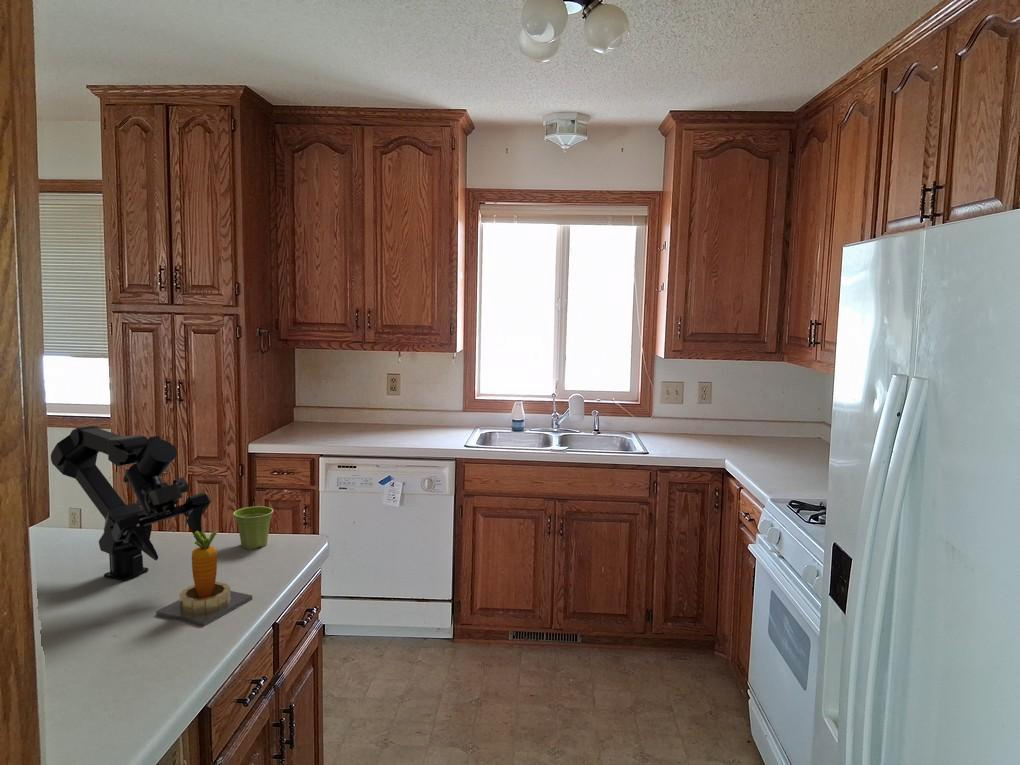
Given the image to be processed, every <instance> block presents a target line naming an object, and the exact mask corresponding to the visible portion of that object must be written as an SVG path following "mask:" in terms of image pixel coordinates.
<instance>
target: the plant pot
mask: <svg viewBox="0 0 1020 765" xmlns="http://www.w3.org/2000/svg"><path fill="white" fill-rule="evenodd" d="M273 514H274V508H272V507H268V506H248V507H247V506H246V507H243V508H239V509H236V510H235V511H233V517H234V518H235V521H236V523H237V528H238V533H239V538H240V540H239V541H240V544H241V547H243V548H245V549H258V548H259V547H265V546H267V544H268V538H269V532H270V525H271V524H270V522H271V518H272V515H273Z"/></svg>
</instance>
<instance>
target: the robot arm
mask: <svg viewBox="0 0 1020 765" xmlns="http://www.w3.org/2000/svg"><path fill="white" fill-rule="evenodd" d="M99 452H100V453H103V454H105V455H107V456H108V457H107V458H108V459H107V460H108V461H109V462H111V463H112V464H114V465H115V466H117V467H122V466H123V467H124V466H128V465H131V466H130V467H128V468H127V469H125V474H124V476H123V480H122V481H123V483H129V484H130V487H131V489H132V491H133V493H134V495H135V497H136V501H135V502H133V503H130V504H127V503H126V502H124V500H123V499H122V498H121V496H120V495H119V493H118V492H117V491H116V490H115V488H114V487H113V486H112V485H111V483H110V482H109V480H108V479H107V478H106V476H105V475H104V474H103V472H102V471H101V470H100V469H99V468H98V466H97V459H98V454H99ZM177 455H178V450H177V447H176V446H175V445H174V444H172V443H171V442H170V441H168V440H165V439H161V436H160V435H153V436H150V437H149V438H148V437H146V435H126V436H125V435H120V434H117V433H114V432H111V431H109V430H108V431H107V430H104V429H102V428H100V427H99V426H97V425H96V426H95V425H89V426H79V427H76V428H74V429H72V430H71V432H70V433H69V435H67V436H66V437H65V438H63V439H61V440H59V441H58V442H57V443H56V444H55V446H54V448H53V450H52V451H51V454H50V460H51V463H52V465H53V466H54V467H55V469H56V470H58V471H59V472H60V473H61V474H62V475H63V476H66V477H69V478H73V479H75V480H76V481H77V483H78V484H79V485H80V487H81V488H82V490H83V491H84V492H85V494H86V495H87V497H89V499H90V501H91V502H92V503H93V504H94V506H95V508H96V509H97V510H98V511H99V513H100V514H101V515H102V517H103V518H104V520H105V522H104V525H103V526H104V528H103V534H102V535H101V537H100V538H99V540H98V545H99V550H100V551H101V552H103V553H106V554H108V555H109V556H108V557H109V571H108V572H106V573H103V576H104V577H105V578H110V579H116V580H120V581H127V580H130V579H132V578H134V577H136V576H138V575H139V576H140V575H141V574H144V573H146V572H149V567H144V558H143V556H144V555H143V553H145V554H146V555H147V556H148V557H149V558H151V559H152V560H154V561H158V559H159V556H158V553H157V551H156V549H155V546H154V544H152V541H151V535H152V528H153V525H154V524H156V523H159V522H162V521H165V520H170V519H172V518H174V517H178V516H180V515H181V516H182V515H184V517H186V518H187V519H186V522H185V523H187V526H188V528H189V529H190V531H191V533H192V534H193V537H194V539H195V542H196V541H198V540H197V538H196V537H195V535H194V533H195V532H196V531H199V533H200V535H201V532H203V531H202V530H203V528H202V516H203V514H204V513H205V512H206V510H207V509H208V508H209V506H210V505H211V503H212V500H211V498H210V497H209V494H206V493H204V492H201V493H197V494H194V495H190V496H188V497H187V498H186V499H185V502H184V503H183V504H180V505H177V504H178V502H179V499H182V498H183V497H184V496H183V494H185V493H187V492H189V491H190V486H189V484H188V482H187V480H186V478H185V477H184V476H183V477H179V478H175V479H174V480H172V483H171V484H168V483H167V482H163V479H162V478H161V476H162V475H164V473H165V472H166V471H167V469H168V468H169V467H170V466H171V464H172V463H173V461H174V460H175V459H176V457H177ZM175 505H177V506H175ZM201 537H202V535H201ZM202 538H203V537H202ZM198 542H199V541H198Z"/></svg>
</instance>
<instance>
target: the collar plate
mask: <svg viewBox="0 0 1020 765" xmlns="http://www.w3.org/2000/svg"><path fill="white" fill-rule="evenodd" d="M252 600H253V595H252V594H248V593H244V592H238V591H233V590H231V587H230V586H229V584H227V583H225V582H222V581H220V582H219V581H215V585H214V589H213V592H212V594H211V596H210V597H208V598H200V597H199V595H198V593H197V590H196V587H195V584H193V585H190V586H188V587H186V588H184V589H183V590H181V592H180V593H179V599H177V600H176V601H173V602H171V603H170V604H168V605H166V606H164V607H162V608H160V609H158V610H156V612H155V613H156V616H160V617H164V618H167V619H168V618H169V619H173V620H176V621H180V622H181V621H182V622H184V623H185V622H186V623H188V624H193V625H198V626H203V627H205V626H207V625H208V624H210V623H212V622H214V621H216V620H217V619H219V618H221V617H223V616H225V615H226V614H228V613H230V612H232V611H234V610H235V609H237V608H239V607H241V606H243V605H245V604H246V603H247V602H250V601H252Z"/></svg>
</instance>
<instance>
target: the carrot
mask: <svg viewBox="0 0 1020 765" xmlns="http://www.w3.org/2000/svg"><path fill="white" fill-rule="evenodd" d="M194 535H195V537H196V538H197V540H198V541H199V542H198V541H196V540H195V542H194V544H195V545H196V546H197V547H195V548H194V549H193V550H192V551H191V566H192V578H193V584H194V585H195V587H196V590H197V593H198V595H199V597H200V598H208V597H210V596H211V594H212V592H213V589H214V585H215V582H216V579H217V568H218V550H217V548H216V547H215V546H211V543H212V541H213V540H214V538H215V537H216V535H217V531H212V532H211V533H210V535H209V537H207V535H206V533H205V532H204V531H202V532H201V535H202V537H201V535H200V533H199V531H196V532H195V533H194ZM194 535H193V536H194ZM195 537H194V538H195Z"/></svg>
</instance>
